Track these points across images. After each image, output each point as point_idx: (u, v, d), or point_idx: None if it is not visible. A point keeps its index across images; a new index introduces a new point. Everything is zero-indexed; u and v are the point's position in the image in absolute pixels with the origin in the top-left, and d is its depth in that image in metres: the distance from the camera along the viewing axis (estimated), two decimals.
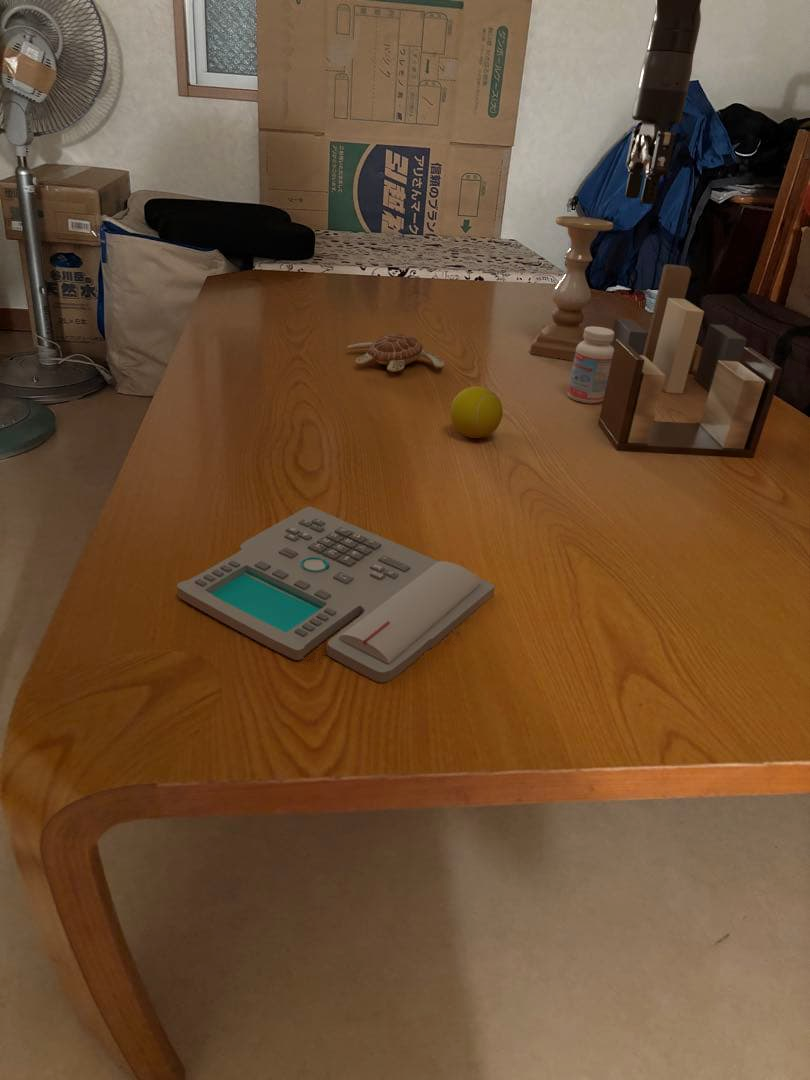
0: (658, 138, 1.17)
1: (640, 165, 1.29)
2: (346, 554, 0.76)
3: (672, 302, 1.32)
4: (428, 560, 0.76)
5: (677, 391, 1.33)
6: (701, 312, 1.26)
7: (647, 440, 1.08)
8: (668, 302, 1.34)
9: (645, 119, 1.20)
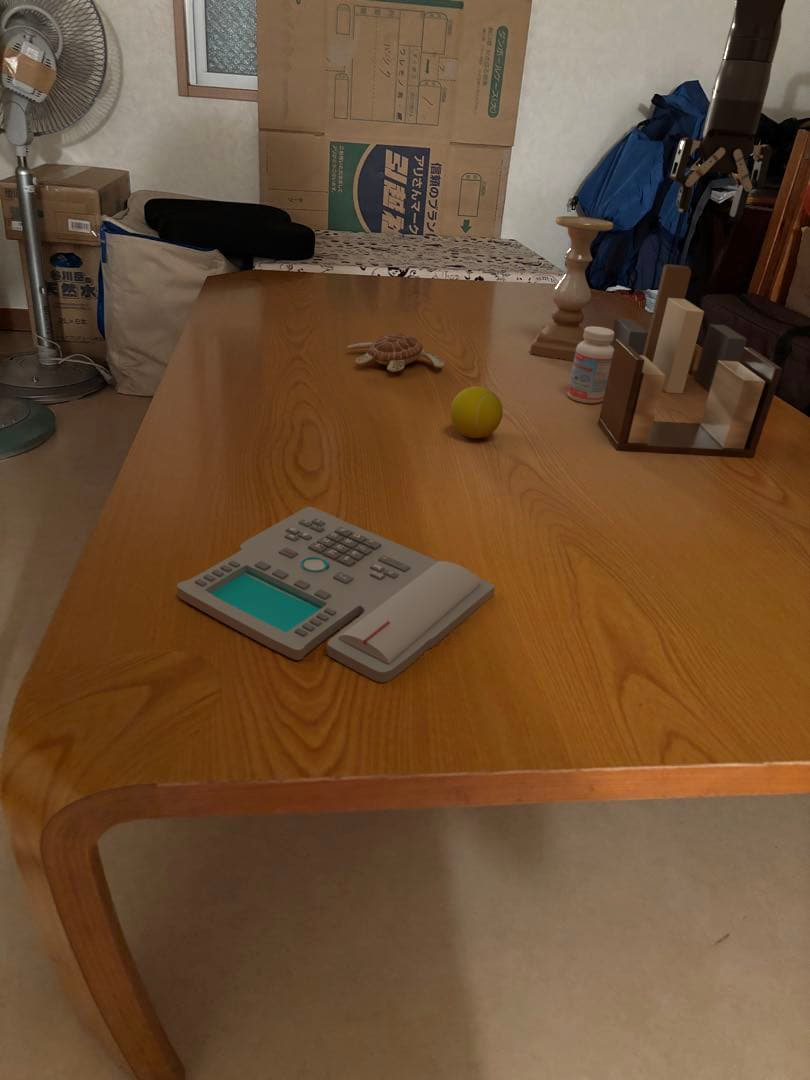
0: None
1: None
2: (346, 554, 0.76)
3: (672, 302, 1.32)
4: (428, 560, 0.76)
5: (677, 391, 1.33)
6: (701, 312, 1.26)
7: (647, 440, 1.08)
8: (668, 302, 1.34)
9: None
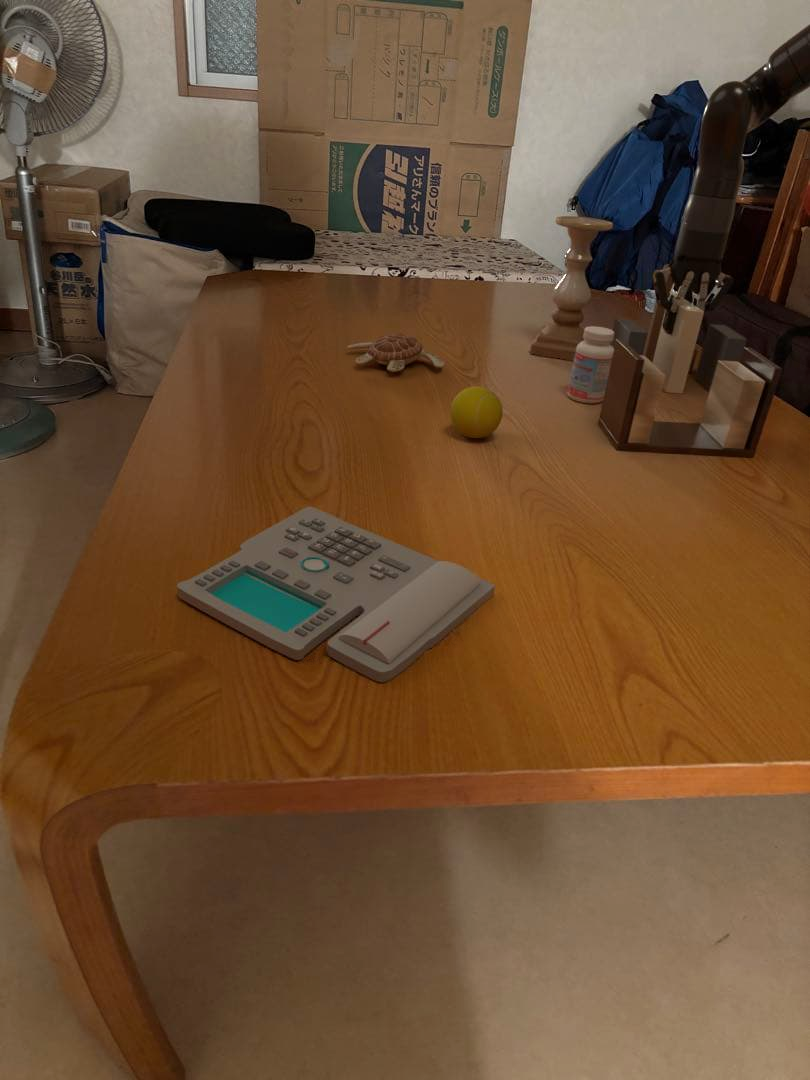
0: None
1: None
2: (346, 554, 0.76)
3: None
4: (428, 560, 0.76)
5: (677, 391, 1.33)
6: (701, 312, 1.26)
7: (647, 440, 1.08)
8: None
9: None
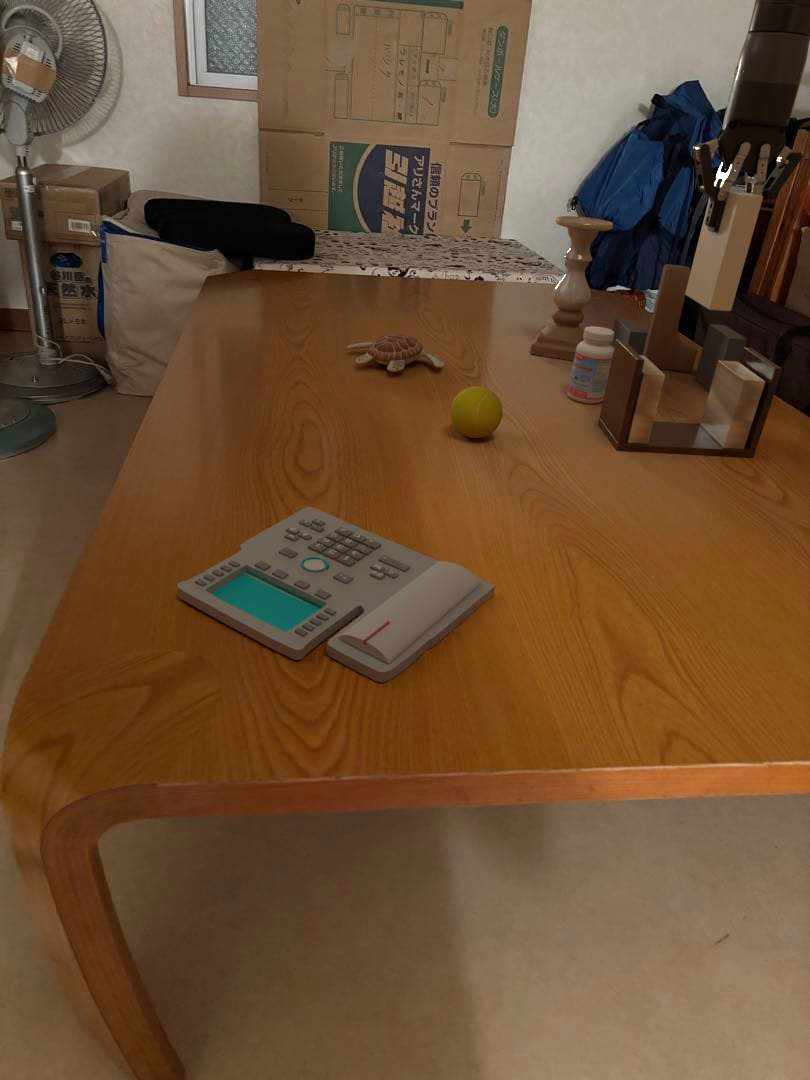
0: None
1: None
2: (346, 554, 0.76)
3: None
4: (428, 560, 0.76)
5: (724, 308, 1.02)
6: (759, 197, 0.95)
7: (647, 440, 1.08)
8: None
9: None
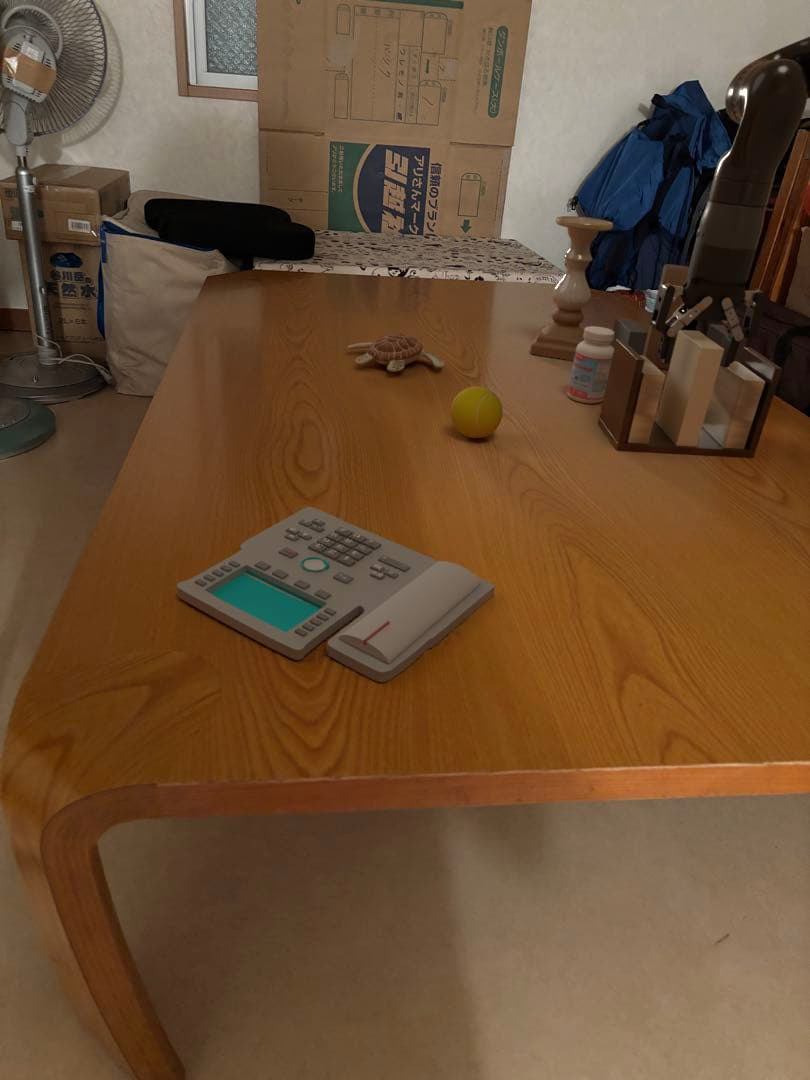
0: None
1: None
2: (346, 554, 0.76)
3: (684, 336, 1.08)
4: (428, 560, 0.76)
5: (690, 444, 1.09)
6: (720, 350, 1.02)
7: (647, 440, 1.08)
8: (679, 335, 1.09)
9: None
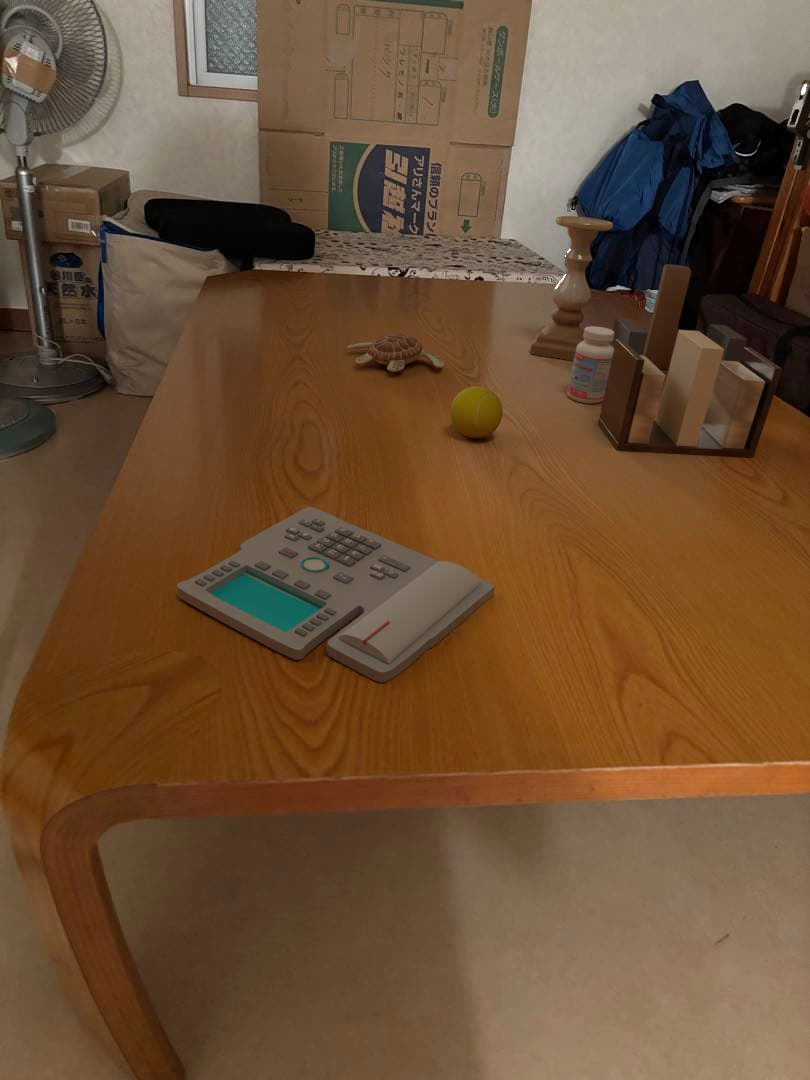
0: None
1: None
2: (346, 554, 0.76)
3: (684, 336, 1.08)
4: (428, 560, 0.76)
5: (690, 444, 1.09)
6: (720, 350, 1.02)
7: (647, 440, 1.08)
8: (679, 335, 1.09)
9: None
